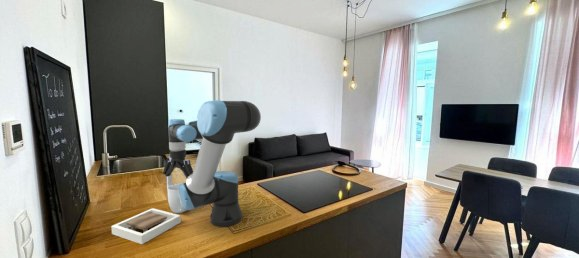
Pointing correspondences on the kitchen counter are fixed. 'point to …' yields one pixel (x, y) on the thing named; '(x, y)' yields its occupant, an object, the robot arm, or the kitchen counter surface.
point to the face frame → (141, 238)
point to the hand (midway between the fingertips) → (179, 190)
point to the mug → (175, 199)
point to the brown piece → (146, 221)
